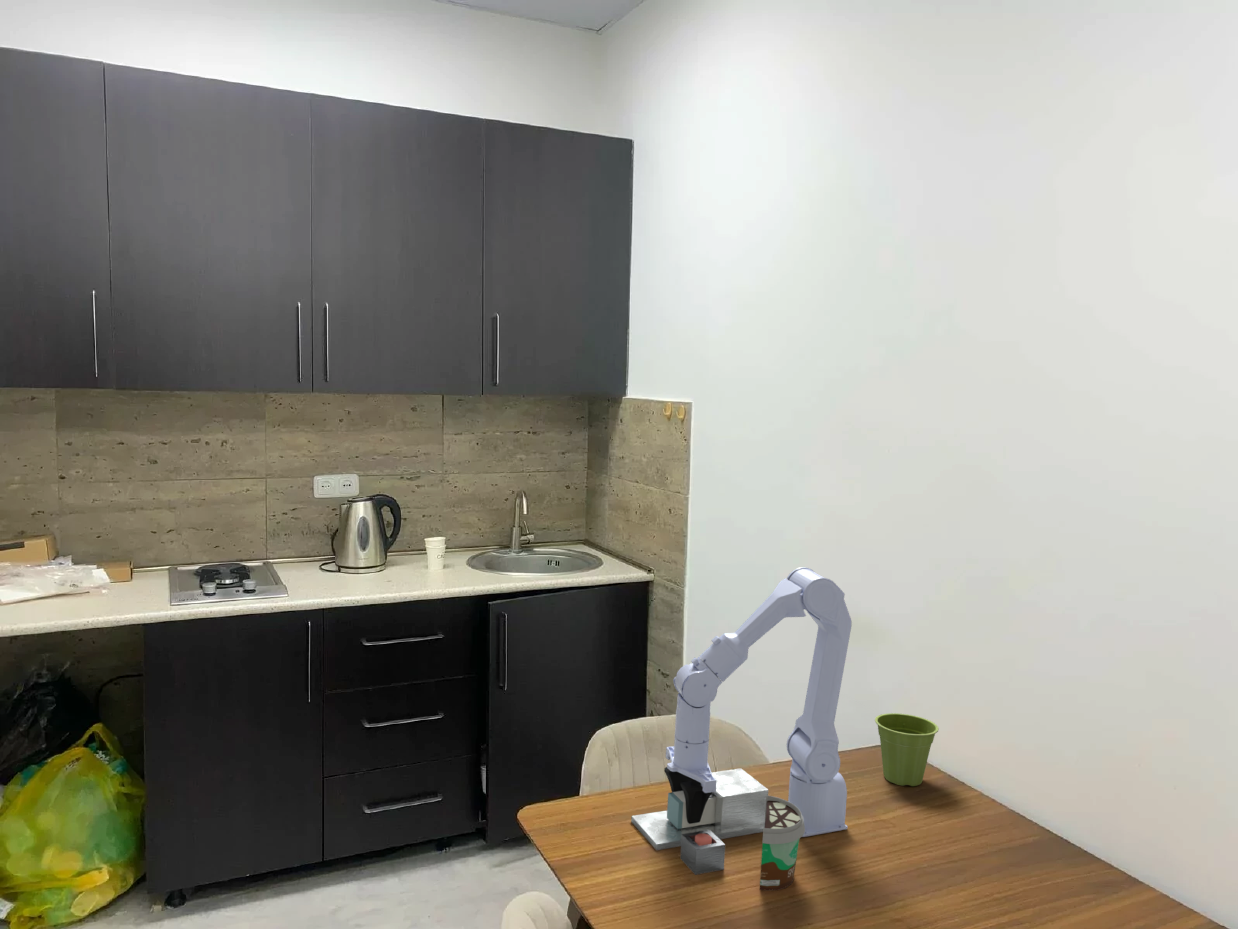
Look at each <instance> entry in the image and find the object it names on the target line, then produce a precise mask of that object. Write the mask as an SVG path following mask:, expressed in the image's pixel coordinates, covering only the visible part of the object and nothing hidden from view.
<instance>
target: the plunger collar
mask: <svg viewBox="0 0 1238 929" xmlns="http://www.w3.org/2000/svg"><path fill="white" fill-rule="evenodd" d="M697 834H707V835H710V836H711V837H712V844H707V845H702V846H699V845H698V844H697V843H696V842H695V836H696V835H697ZM679 858H680V860H681V861H682V862H683V863H684V864H685V865H686V867H687V868H688V869H689V870H690V871H691V872H692V873H693V874H694V876H696V875H697V876H698V875H701V874H708V873H713V872H718V871H724V870H725V858H726V844H725V843H724V842H723V841H722V839H719V838H718V837H717V836H716V835H715V834H714V833H713V832H712V831H711V830H704V831H698V832H692V833H686V834H682V838H681V846H680V857H679Z"/></svg>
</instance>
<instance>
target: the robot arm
mask: <svg viewBox="0 0 1238 929" xmlns="http://www.w3.org/2000/svg"><path fill="white" fill-rule="evenodd" d="M845 595H846V594H845V592H844V591H843V590H842V589H841V588H840V586H838V585H837V583H835V581H834V580H831V579H830V578H827V577H824V576H823V575H821V574H819V573H817V572H816V571H814V570H813V569H811V568H809V567H805V566H802V567H797V568H795V569H794V570H792V571H791V572H790V573H789V574H788V575H787V577H786V578H782V579H781V581H779V582H778V584H777V585H776V587H775V588H774V590H773V591H772V592H771V594H770V595H769V596H768V597H767V598H766V599H764V600H763V601H762V603H761V604H760V605H759V606H758V607H757V608H756V609H755V611H754V612H753V613H752V614H751V615H749V617H748V618H747V619H746V620H745V621H744V622H743V623H742V624H741V625H740V626H739V628H738V629H736V630H735V631H734V632H724V633H722V634H721V635H720V636H718V635H715V636H714V637H713V638H712V639H711V641H710V642H712V643H711V644H710V646H709V647H707V648H706V649H705V650H704V651H703V652H702V653H701V654H700V655H699V656H698V657H693V658H692V659H691V660H690V662H691V663H689V664H688V663H686V664H684V665H683V666H681V667H680V668H679V670H677V672H676V676H674V678H673V685H674V688H675V690H676V691H677V693H678V694H677V697H676V698H677V699H676V709H675V723H674V724H675V726H674V728H675V729H674V743H673V744H674V745H673V746H667V747H665V749H666V750H665V758H666V759H667V760H669V761H670V762H667V764H666V767H665V768H664V769H663V770H664V774H665V775H666V778H667V780H668V782H669V785H670V790H671V792H678V791H683V792H684V796H685V802H686V817H687V822H688V823H689V824H692V823H698V822H700V820H701V817H702V814H703V811H704V808H705V805H706V803H707V801H708V799H709V797H710V795H711V794H712V792H716V781H717V780H716V779H715V778H714V777H713V775H712V770H711V767H710V765H709V764H710V763H709V762H708V761H709V760H708V758H709V743H710V726H711V702H713V701H714V700H715V699H716V697H717V694H718V688H719V686H721V684H723V683H724V682H725V681H726V680H727V679H728V678H729V677H730V676H731V675H732V674H733V673H734V672H735V671H736V670H738V669H739V668H740V667H741V665H743V664H744V663H745V662H746V661H747V660H748V657H749V655H748V654H749V650H750V649H749V648H750V647H751V646H753V645H754V644H755V643H757V641H759V640H760V639H761V638H762V637H763V636H765V635H766V634H767V633H768V632H769V631H770V630H771V629H773V628H774V627H775V626H776V625H777V624H778V623H780V622H781V621H782V620H783V619H785V618H804V617H806V616H807V615H806V612H807V614H808V615H809V616H810V617H811V618H812V619H813V621H814V622H815V624H816V625H817V632H816V637H815V645H814V649H813V655H812V662H811V667H810V673H809V678H808V684H807V688H806V689H807V691H806V695H805V701H804V707H803V711H802V714H801V715H800V716H798V718H796V720H795V725H794V727H793V730H792V732H790V734H789V735H788V738H787V741H786V751H787V753H788V755H789V756H790V757H791V758H792V759H791V765H790V769H789V785H788V798H787V799H788V800H787V801H788V802H790V803H792V804H793V805H795V806H796V807H797V808H798V809H799V810H800V811H801V813H802V816H803V820H804V826H805V833H804V834H803V836H802V837H801V838H806V837H811V836H816V835H823V834H828V833H832V832H833V833H834V832H838V831H843V830H847V829H848V825H847V824H846V823H845V821H846V811H847V798H848V788H847V785H846V780H845V779H844V777H843V775H842V774H841V773H840V772H839V770H840V767H841V757H840V754H839V745H840V741H839V737H838V733H837V730H836V727H835V722H836V720H835V719H836V715H837V709H838V705H839V704H838V703H839V699H840V698H839V697H840V692H841V688H842V681H843V674H844V670H845V664H846V660H847V652H848V647H849V643H850V637H851V633H852V632H851V630H852V625H853V624H852V623H853V622H852V618H851V615H850V612H849V610H848V607H847V604H846V601H845ZM805 611H806V612H805Z"/></svg>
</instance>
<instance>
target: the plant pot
mask: <svg viewBox="0 0 1238 929" xmlns="http://www.w3.org/2000/svg"><path fill="white" fill-rule="evenodd" d="M874 722H875V724H876V725H877V730H878V736H879V740H880V741H879V742H880V752H881V761H882V771H883V777H884V778H885V780H886V781H888V782H889V783H891V784H892V783H893V784H895V785H898V786H910V787H916V786H919V785H921V784H922V783H923V779H924V777H925V776H924V775H925V771H926V766H927V763H928V758H929V755H930V751H931V746H932V744H933V743H934V739H935V736H936V734H937V733H938V732H939V729H940V728H939V726H938V725H937V724H936V723H935V722H933V721H931V720H929V719H926V718H924V717H921V716H916V715H912V714H906V713H896V712H895V713H892V712H891V713H883V714H879V715H877V716H875V718H874Z"/></svg>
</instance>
